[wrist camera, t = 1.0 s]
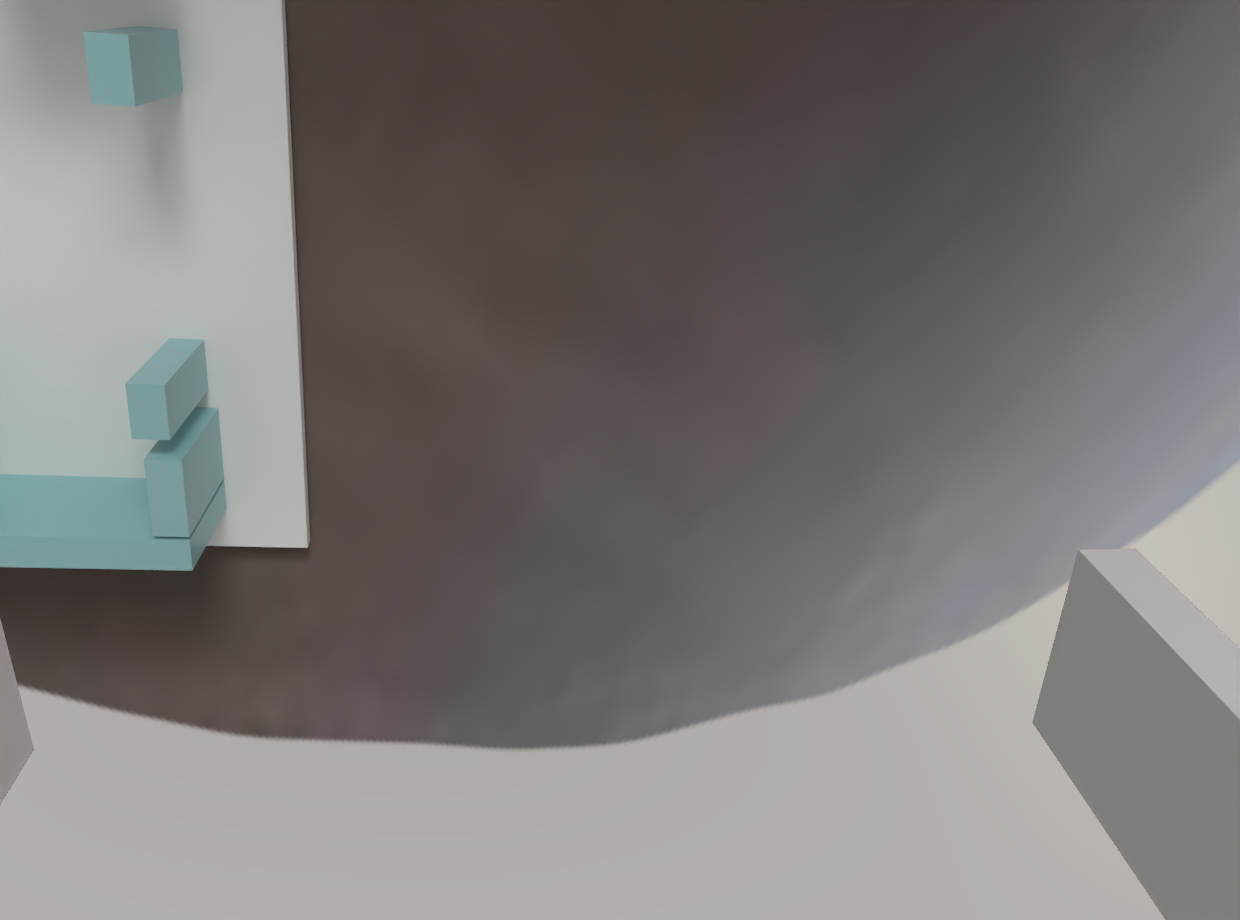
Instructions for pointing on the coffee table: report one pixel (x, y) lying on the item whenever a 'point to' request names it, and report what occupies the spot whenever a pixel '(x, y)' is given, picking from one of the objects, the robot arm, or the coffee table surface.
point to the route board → (147, 284)
